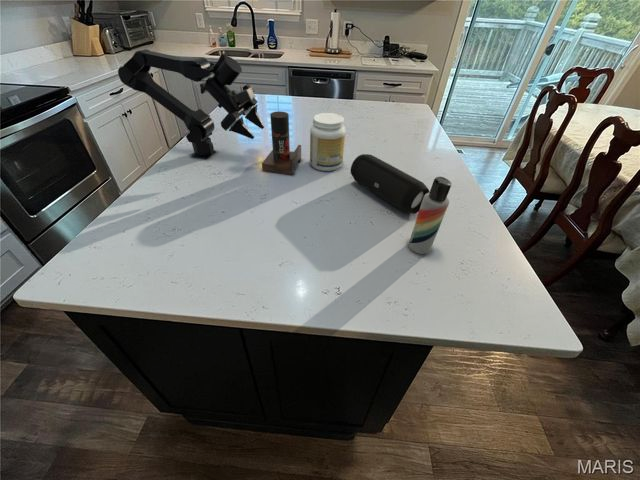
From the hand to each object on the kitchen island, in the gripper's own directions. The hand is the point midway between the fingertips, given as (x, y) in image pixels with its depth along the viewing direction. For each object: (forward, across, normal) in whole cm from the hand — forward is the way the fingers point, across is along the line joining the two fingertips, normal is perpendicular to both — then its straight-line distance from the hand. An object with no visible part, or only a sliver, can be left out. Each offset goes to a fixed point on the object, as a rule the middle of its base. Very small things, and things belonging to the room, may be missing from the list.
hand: (258, 133), depth 101 cm
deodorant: (+11, 0, 0) cm, 11 cm away
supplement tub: (+24, +6, -9) cm, 26 cm away
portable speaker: (+40, -10, -25) cm, 48 cm away
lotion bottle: (+47, -32, -32) cm, 66 cm away
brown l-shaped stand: (+14, 0, +2) cm, 14 cm away
